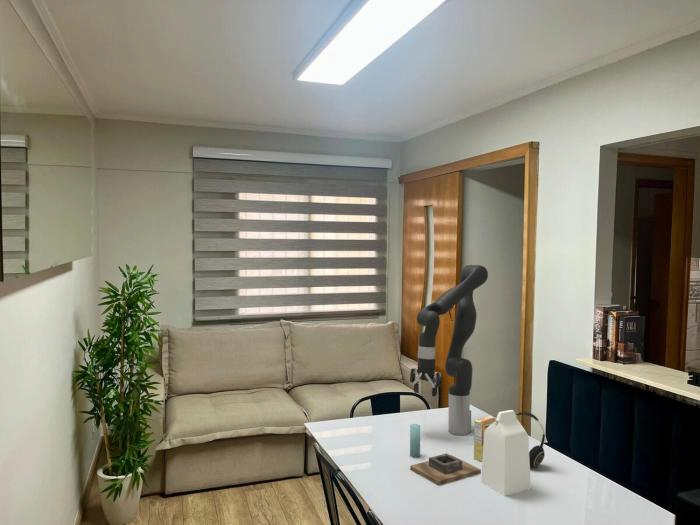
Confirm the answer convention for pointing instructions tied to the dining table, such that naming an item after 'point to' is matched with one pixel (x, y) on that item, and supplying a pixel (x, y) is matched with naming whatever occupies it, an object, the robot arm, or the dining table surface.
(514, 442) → the milk
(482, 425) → the candy box
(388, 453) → the dining table surface
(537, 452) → the headphones
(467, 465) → the wooden peg socket board
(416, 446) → the teal peg
